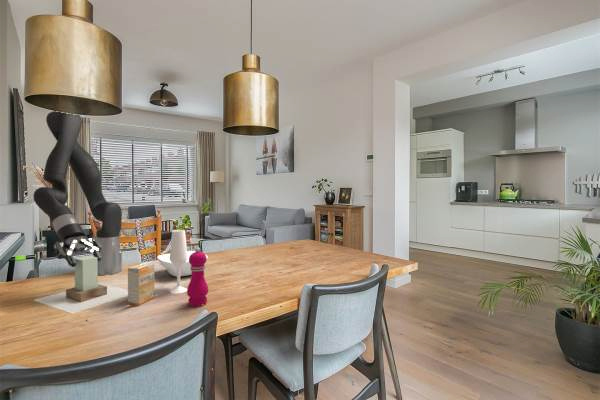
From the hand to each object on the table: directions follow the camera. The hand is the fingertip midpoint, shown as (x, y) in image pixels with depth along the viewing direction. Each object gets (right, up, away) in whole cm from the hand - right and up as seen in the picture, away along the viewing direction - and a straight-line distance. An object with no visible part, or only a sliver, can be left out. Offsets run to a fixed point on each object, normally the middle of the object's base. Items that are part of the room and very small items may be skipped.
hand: (87, 262), depth 111 cm
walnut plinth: (0, -12, +1) cm, 12 cm away
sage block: (0, -9, 0) cm, 9 cm away
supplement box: (+20, -14, -1) cm, 24 cm away
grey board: (0, -13, +1) cm, 13 cm away
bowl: (+22, -12, +33) cm, 42 cm away
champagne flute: (+29, -13, +11) cm, 34 cm away
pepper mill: (+41, -14, -2) cm, 43 cm away
